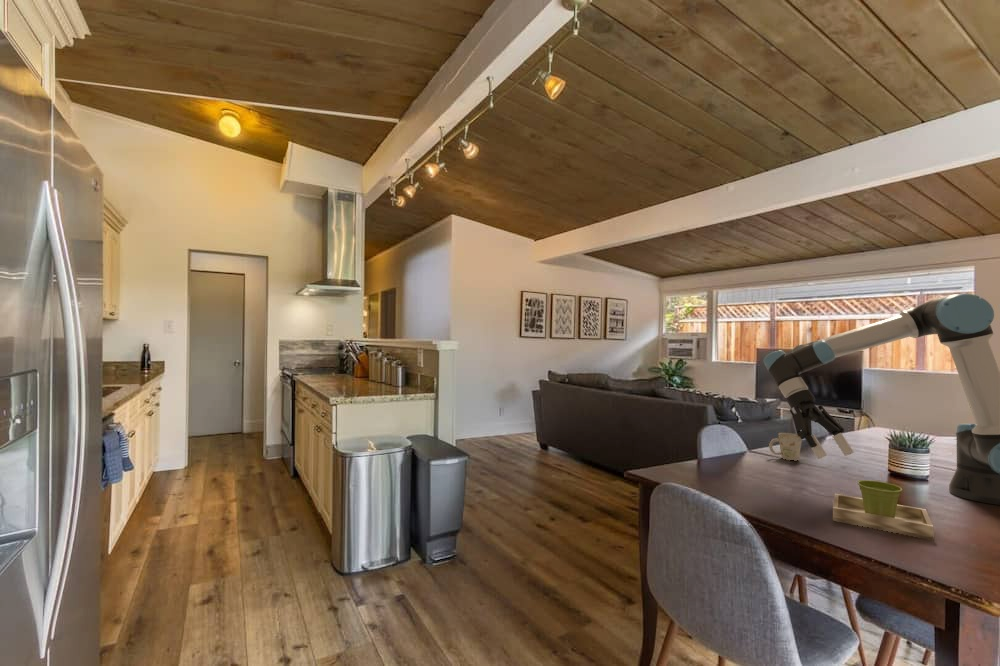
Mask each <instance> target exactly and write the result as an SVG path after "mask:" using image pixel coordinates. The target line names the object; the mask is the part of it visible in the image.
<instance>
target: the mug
mask: <svg viewBox="0 0 1000 666" xmlns="http://www.w3.org/2000/svg"><path fill="white" fill-rule="evenodd" d="M802 441H803V439H801V438H800V437H799V436H798V435H797V433H791V432H779V433H778V437H777V438H772V439H771V440H770V442H769V444H768V448H769V451H770V452H771V453H772V454H774V455H777V456H778V455H779V456H781V459H782V458H783V460H785V459H786V460H785V461H790V460H794V461H793V462H796V461H797V460H798V461H799V460H800V454H801V448H802ZM776 442H778V443H779V448H780V452H778V451H777V452H776V451H775V450H774V449H773V444H774V443H776Z"/></svg>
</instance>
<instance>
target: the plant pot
mask: <svg viewBox="0 0 1000 666" xmlns="http://www.w3.org/2000/svg"><path fill="white" fill-rule="evenodd" d="M857 485H858V486H859V490H860V492H861V498H863V504H864V510H865V513H870V514H875V515H880V516H886V517H891V518H895V513H896V507H897V504H898V502H899V501H898V500H899V497H900V496H901V493H902V492H903V488H902V487H901V486H899V485H896V484H894V483H889V482H884V481H878V480H868V479H866V480H859V481H857Z"/></svg>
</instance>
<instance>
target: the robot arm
mask: <svg viewBox="0 0 1000 666" xmlns="http://www.w3.org/2000/svg"><path fill="white" fill-rule="evenodd" d="M994 319H995V311H994V308H993V306H992V304H991V303H990V302H989V301H988V300H986V299H985V298H983V297H981V296H979V295H976V294H972V293H955V294H951V295H947V296H941V297H940V296H939V297H937V298H936V297H935V298H933V299H931V300H928V301H926V302H924V303H921V304H919V305H917V306H913V307H911V308H908V309H905V310H903V311H900V313H899V314H898V315H895V316H893V317H890V318H886V319H883V320H881V321H877V322H873V323H870V324H866V325H864V326H860V327H856V328H854V329H850V330H847V331H844V332H840V333H837V334H834V335H833V334H832V335H831V336H827V337H825V338H821V339H818V340H815V341H811V342H808V343H804V344H799V345H796V346H795V347H794V348H793V349H792V350H791V352H790V353H789V352H788V353H786V352H785V351H784V350H782V349H781V350H780V349H779V350H775V351H771V352H770V353H768V354H767V355H766V356H765V357H764V358H763V361H762V362H763V364H764V366H765V368H766V369H767V371H768V372H767V373H768V374H769V375H770V376H771V378H772V379H773V381H774V382H775V384H776V386H777V388H778V389H779V390H780V392H781V394H782V395H783V397H784V398H786V400H785V401H786V402H787V405H788V406H789V407H790V409H789V412H790V414H791V416H792V420H793V422H794V427H795V431H796V434H797V435H798V436H799V437H800V438H801V439H802V440H804V439H805V440H806V442H807V443H808V445H809V447H810V448H811V450H812V452H813V453H814V455H815V457H816V458H817V459H818V460H819V459H822V458H825V457H826V456H828V454H827V452H826V451H825V449H824V448H823V446H822V445H821V443H820V441H819V440H818V438H817V436H816V435H815V434H812V430H813V428H812V422H814V423H817V424H819V425H820V426H821V427H823V428H824V429H826V431H827V432H829V433H830V434H831V435H833V436H832V438H833V440H834V441H835V443H836V446H838V448H839V449H840V451H841V452H842V454H843V455H844V456H845V457H846V456H848V455H849V456H850V455H851V454H854V453H855V451H854V449H853V448H852V447H851V445H850V444H849V443H848V441H847V439H846V437H845V436H844V435H843V433H844V432H845V428H843V426H841V424H840V423H839V422H838V421H836V419H834V418H833V416H832V415H830V413H828V412H827V411H826V409H825V408H824V407H823V405H821V404H820V405H819V406H816V404H814V403H815V401H816V398H815V396H814V394H813V393H812V392H811V390H810V389H809V386H808V385H807V384H806V382H805V380H804V379H803V378H802V376H801V375H800V374H803V373H806V372H808V371H811V370H813V369H816V368H818V367H821V366H824V365H827V364H828V363H830V362H833V361H834V360H836V358H839V357H843V356H846V355H847V356H848V355H850V354H853V353H857V352H860V351H863V350H867V349H871V348H875V347H878V346H881V345H882V346H883V345H885V344H887V343H892V342H895V341H899V340H902V339H905V338H912V339H913V338H914V339H917V338H921V337H924V336H931V335H936V336H937V337H938V339H939V342H940V344H942V345H944V346H946V347H948V349H949V351H950V354H951V357H952V360H953V363H954V365H955V369H956V371H957V374H958V376H959V379H960V382H961V385H962V387H963V391H964V394H965V396H966V399H967V402H968V404H969V405H968V406H969V408H970V410H971V413H972V416H973V419H974V421H975V423H959V424H958V425H957V426H956V432H955V435H956V470H955V472H954V473H953V476H952V477H951V478H952V479H951V480H950V482H949V484H948V485H949V486H948V492H949V493H950V494H952V495H954V496H956V497H959V498H963V499H967V500H970V501H974V502H979V503H983V504H990V505H991V504H992V505H999V506H1000V370H999V366H998V363H997V360H996V357H995V355H994V353H993V349H992V348H991V347H992V346H991V345H990V341H989V340H990V339H991V338H992V336H993V335H994V331H993V328H992V326H991V324H992V323H993V321H994Z"/></svg>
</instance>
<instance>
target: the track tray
mask: <svg viewBox="0 0 1000 666" xmlns="http://www.w3.org/2000/svg"><path fill="white" fill-rule="evenodd" d="M833 496H834V497H833V504H832V521H833V522H837V523H842V524H848V525H853V526H857V525H858V526H857V527H862V526H863V527H862V528H867V527H869V528H868V529H872V528H873V530H877V529H878V530H877V531H881V530H883V532H886V531H888V532H887V533H891V532H893V533H892V534H896V533H899V534H898V535H901V534H904V535H903V536H906V535H909V536H908V537H911V536H913V537H912V538H916V537H918V538H917V539H921V538H922V540H926V539H927V540H926V541H931V540H932V541H931V542H934V537H935V536H934V535H935V534H934V532H935V531H934V525H933V524H934V523H932V520H931V517H930V516H929V514H928V511H927V509H926V508H921V507H914V506H910V505H903V504H902V505H901V504H898V503H897V507H896V513H895V518H891V517H886V516H880V515H875V514H870V513H865V510H864V504H863V498H862V497H857V496H856V497H855V496H851V495H847V494H846V495H845V494H840V493H834V495H833Z"/></svg>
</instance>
